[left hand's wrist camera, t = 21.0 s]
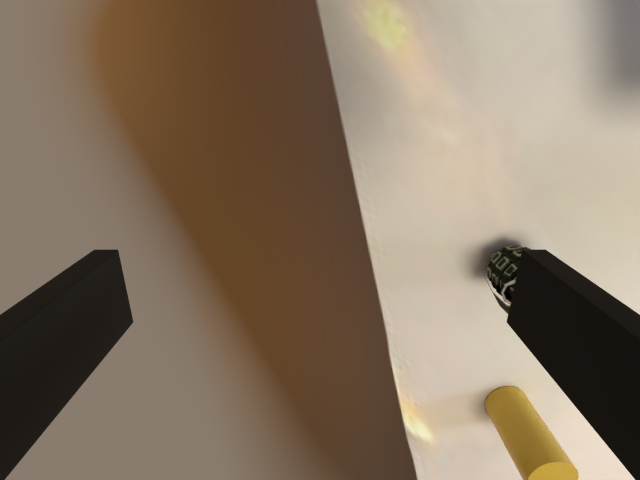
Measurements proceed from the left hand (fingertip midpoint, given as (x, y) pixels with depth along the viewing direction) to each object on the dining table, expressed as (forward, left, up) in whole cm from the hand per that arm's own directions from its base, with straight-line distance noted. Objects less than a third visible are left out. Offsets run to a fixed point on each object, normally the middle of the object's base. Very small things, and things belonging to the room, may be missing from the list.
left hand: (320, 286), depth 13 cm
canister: (+39, +13, -28) cm, 50 cm away
